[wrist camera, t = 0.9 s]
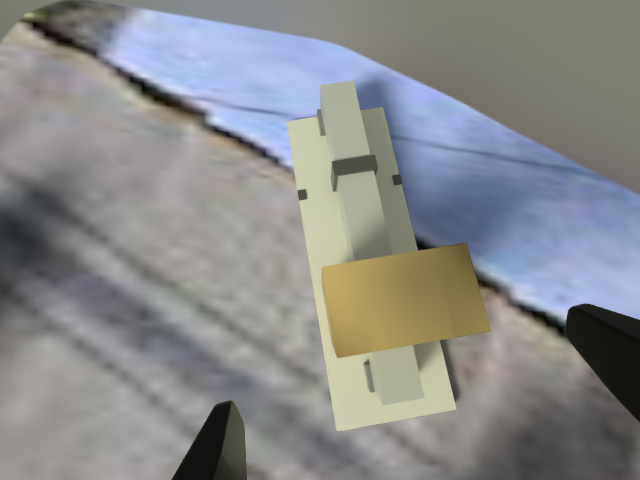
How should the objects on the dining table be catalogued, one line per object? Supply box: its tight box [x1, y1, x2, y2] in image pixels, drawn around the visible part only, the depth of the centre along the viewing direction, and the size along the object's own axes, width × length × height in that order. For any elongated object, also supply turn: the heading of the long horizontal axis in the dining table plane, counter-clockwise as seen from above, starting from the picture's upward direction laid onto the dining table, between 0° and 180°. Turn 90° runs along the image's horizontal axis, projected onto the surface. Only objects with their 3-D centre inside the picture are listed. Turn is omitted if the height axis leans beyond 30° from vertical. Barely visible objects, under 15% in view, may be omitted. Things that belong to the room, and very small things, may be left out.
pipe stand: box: [286, 81, 456, 431], centre depth 22 cm, size 23×8×5 cm, turn 10°
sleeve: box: [321, 243, 491, 358], centre depth 18 cm, size 4×7×8 cm, turn 100°
